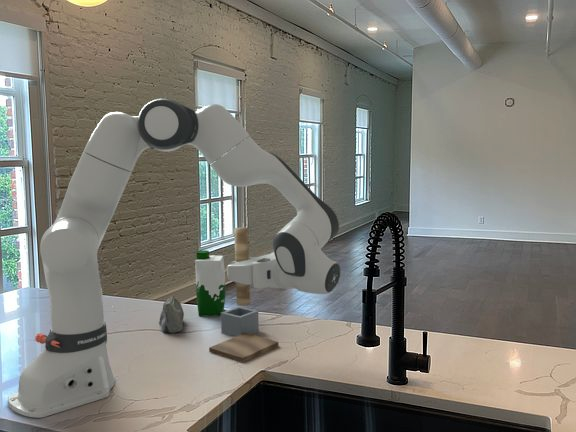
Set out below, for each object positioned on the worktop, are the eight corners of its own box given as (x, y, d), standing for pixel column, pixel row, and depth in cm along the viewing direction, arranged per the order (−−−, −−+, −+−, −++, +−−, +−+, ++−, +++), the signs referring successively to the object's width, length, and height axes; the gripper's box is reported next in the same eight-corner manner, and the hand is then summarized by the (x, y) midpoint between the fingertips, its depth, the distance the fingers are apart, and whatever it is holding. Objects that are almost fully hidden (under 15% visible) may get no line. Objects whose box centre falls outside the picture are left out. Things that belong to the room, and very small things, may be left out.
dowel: (243, 306, 148) (241, 230, 145) (233, 304, 150) (231, 228, 147) (253, 303, 150) (251, 228, 148) (243, 301, 153) (240, 227, 150)
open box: (240, 338, 160) (240, 317, 159) (221, 333, 164) (220, 312, 164) (258, 331, 166) (258, 310, 165) (239, 325, 170) (239, 306, 169)
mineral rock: (174, 317, 179) (173, 286, 178) (202, 322, 174) (201, 290, 173) (146, 330, 168) (145, 297, 166) (176, 335, 163) (174, 301, 161)
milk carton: (200, 308, 188) (197, 248, 185) (227, 308, 188) (225, 248, 185) (195, 317, 179) (192, 254, 176) (223, 316, 179) (221, 254, 176)
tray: (242, 362, 143) (242, 357, 143) (209, 351, 150) (209, 347, 150) (278, 346, 154) (278, 341, 153) (245, 336, 161) (245, 332, 161)
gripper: (305, 249, 148) (265, 244, 157) (252, 264, 132) (211, 257, 141) (306, 273, 149) (266, 266, 158) (253, 290, 133) (212, 282, 142)
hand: (239, 262), depth 149 cm, fingers closed on dowel, 4 cm apart
